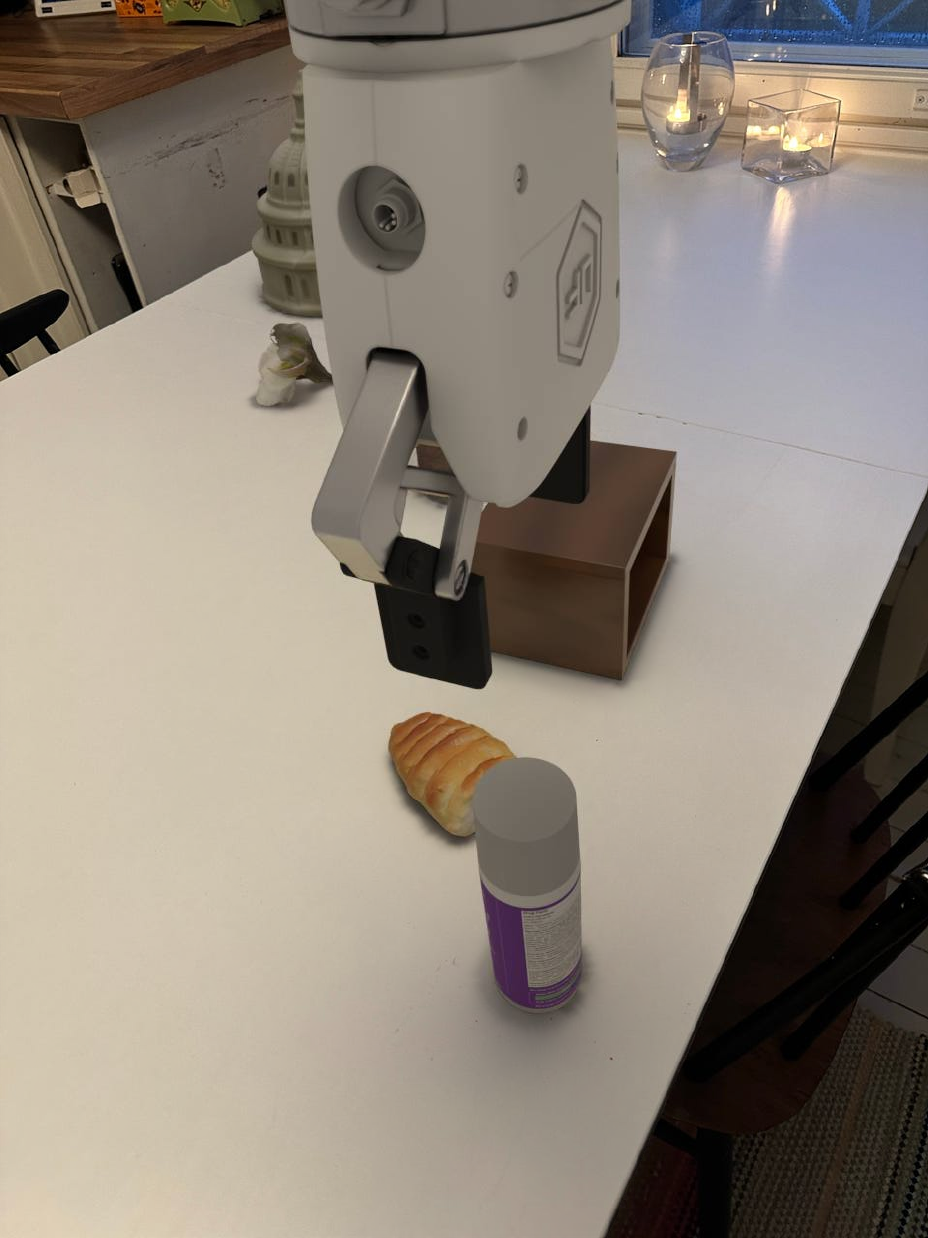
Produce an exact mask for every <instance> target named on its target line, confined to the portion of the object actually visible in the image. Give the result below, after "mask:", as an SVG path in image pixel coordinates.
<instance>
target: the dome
mask: <svg viewBox="0 0 928 1238" xmlns="http://www.w3.org/2000/svg"><path fill="white" fill-rule="evenodd" d="M302 70H303V68H302V69H299V70H298V71H297V81H296V83H295V86H294V89H293V90H292V92H291V97H292V99H293V100H294V104H295V113H296V117H295V119H294V126H293V127H291V129H290V130H289V134H290V135H289V137H288V138H287V139H285V140H284V141H282V142H281V143H280V145H279V146H278V147H277V148H276V149H275V150H274V152H273V153H272V155H271V156H270V157H271V158H270V159H269V162H268V166H267V172H266V188H267V189H266V192H265V193H263V194H262V195H261V196H260V197H259V199H258V200H257V202H256V212H257V214H258V216H259V218H260V219H261V224H262V225H261V226H262V227H260V229H258V231H256V232H255V234H254V235H253V237H252V239H251V250H252V253H253V255H254V257H256V258H257V264H258V268H259V272H260V276H261V281H262V284H261V295H262V297H263V299H264V301H265V302H266V303H267V304H268V305H269V306H271V307H272V308H273V309H276V310H278V311H281V312H284V313H287V314H291V315H296V316H300V317H301V316H302V317H323V315H322V308H321V301H320V294H319V285H318V276H317V268H316V259H315V250H314V241H313V230H312V220H311V209H310V198H309V187H308V172H307V157H306V143H305V116H304V96H303V76H302Z"/></svg>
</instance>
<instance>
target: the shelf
mask: <svg viewBox="0 0 928 1238" xmlns="http://www.w3.org/2000/svg"><path fill="white" fill-rule="evenodd" d="M677 455H678V452H677V451H676V450H667V449H660V448H653V447H645V446H637V445H629V444H623V443H615V442H607V441H599V440H593V439H592V440H591V439H590V490H589V493H588V495H587V497H586V499H585V500H584V502H582V503H580V504H570V503H564V502H558V501H552V500H546V499H540V498H534V497H527V498H526V499H524V500H523V501H522V502H520V503H518V504H516V505H515V506H512V507H509V508H505V507H498V506H497V505H496V504H495V503H488V502H486V503H487V504H486V505H485V506H484V508H482V513H481V518H480V523H479V529H478V534H477V539H476V544H475V550H474V555H473V560H472V566H471V571H470V572H472V573H476V574H478V575H479V576H484V577H485V588H486V600H487V612H488V624H489V636H490V647H491V652H495V653H499V654H503V655H508V656H513V657H517V658H522V659H525V660H526V659H527V660H531V661H535V662H540V663H545V664H549V665H553V666H558V667H562V668H567V669H571V670H575V671H580V672H584V673H589V674H595V675H597V676H603V677H606V678H611V679H612V678H613V679H616V680H623V678H624V675H625V673H626V670H627V668H628V666H629V663H630V660H631V657H632V656H633V652H634V651H635V648H636V645H637V642H638V640H639V638H640V635H641V632H642V631H643V627H644V626H645V622H646V620H647V617H648V615H649V612H650V610H651V607H652V604H653V602H654V600H655V597H656V594H657V592H658V589H659V587H660V584H661V583H662V582H661V581H662V579H663V576H664V574H665V571H666V569H667V566H668V563H669V561H670V555H671V543H672V538H671V537H672V527H673V515H674V514H673V513H674V512H673V511H674V499H675V485H676V472H677V471H676V469H677V458H678V457H677Z"/></svg>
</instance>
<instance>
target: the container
mask: <svg viewBox="0 0 928 1238" xmlns="http://www.w3.org/2000/svg"><path fill="white" fill-rule="evenodd" d="M577 798H578V797H577V791H576V787H575V784H574V783H573V781H572V779H571V778H570V777H569V775H568V774H567V772H565V771H564V770H563V769H562V768H561V767H559V766H558V765H556V764H554V763H552V762H550V761H548V760H545V759H541V758H538V757H537V758H536V757H531V756H530V757H529V756H525V757H524V756H523V757H522V756H521V757H517V758H513V759H509V760H506V761H503V762H500V763H498V764H496V765H494V766H493V767H491V768H490V769H489V770H487V771H486V772H485V773H484V774H483V775H482V776H481V778H480V779H479V780H478V782H477V784H476V786H475V788H474V791H473V796H472V806H473V816H474V826H475V832H474V834H475V836H474V837H475V843H476V845H475V846H476V853H477V864H478V867H477V868H478V874H479V875H478V876H479V883H480V888H481V895H482V903H483V908H484V915H485V922H486V928H487V929H486V930H487V935H488V936H487V937H488V942H489V949H490V955H491V963H492V970H493V975H494V980H495V984H496V987H497V989H498V991H499V993H500V994H501V996H502V997H503V998H504V999H505V1000H506V1002H508V1003H509V1004H511V1006H513V1007H515V1008H517V1009H518V1010H521V1011H524V1012H526V1013H527V1012H528V1013H533V1014H545V1013H550V1012H554V1011H556V1010H558V1009H560V1008H562V1007H564V1006H565V1005H566V1004H567V1003H569V1002H570V1001H571V1000H572V999H573V998H574V996H575V995H576V993H577V992H578V991H579V988H580V985H581V982H582V977H583V975H582V973H583V949H582V948H583V944H582V943H583V942H582V940H583V937H582V932H583V931H582V930H583V929H582V864H581V863H582V862H581V861H582V860H581V850H580V847H581V846H580V834H579V818H578V817H579V815H578V814H579V813H578V801H577V800H578V799H577Z"/></svg>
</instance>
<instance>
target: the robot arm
mask: <svg viewBox="0 0 928 1238" xmlns="http://www.w3.org/2000/svg"><path fill="white" fill-rule="evenodd" d="M283 5H284V12H285V16H286V21H287V22H288V24H287V27H288V33H289V40H290V44H291V50H292V54H293V55H294V56H295V58H296V59H298V60H299V61H302V62H304V63H306V65H305V67H303V68H302V76H303V96H304V116H305V143H306V157H307V172H308V187H309V198H310V209H311V220H312V230H313V241H314V250H315V259H316V268H317V276H318V285H319V294H320V301H321V308H322V315H323V316H322V321H323V326H324V327H323V329H324V337H325V342H326V350H327V356H328V361H329V367H330V372H331V374H332V379H333V382H332V384H333V391H334V396H335V400H336V405H337V409H338V414H339V419H340V423H341V426H342V430H343V431H342V433H341V436H340V438H339V440H338V443H337V446H336V449H335V451H334V454H333V456H332V459H331V461H330V464H329V466H328V468H327V470H326V474H325V476H324V478H323V481H322V483H321V486H320V488H319V490H318V494H317V496H316V498H315V501H314V504H313V507H312V511H311V517H310V523H311V529H312V532H313V533H314V535H315V536H316V537H317V539H318V540H320V542H321V543H322V545H324V547H325V549H327V550H328V551H329V553H330V554H331V555H332V556H333V557H334V558H335V559H336V560H337V562H338V563H339V568H340V570H341V572H342V574H343V575H344V576H346V577H349V578H354V579H358V580H361V581H363V582H366V583H371V584H373V589H374V594H375V598H376V603H377V609H378V613H379V614H378V615H379V619H380V625H381V630H382V637H383V641H384V646H385V651H386V656H387V660H388V663H389V664H390V665H391V666H392V667H393V668H394V669H396V670H398V671H400V672H403V673H407V674H412V675H415V676H419V677H422V678H427V679H431V680H435V681H439V682H443V683H449V684H453V685H457V686H460V687H465V688H468V689H473V690H479V691H480V690H483V689H485V687H486V686H487V685H488V682H489V681H490V679H491V677H492V675H493V662H492V661H493V660H492V651H491V647H490V636H489V624H488V612H487V600H486V588H485V577H484V576H479V575H478V574H476V573H472V572H470V571H471V566H472V560H473V555H474V550H475V544H476V539H477V534H478V529H479V523H480V518H481V513H482V511H483V507H484V503H495V504H496V505H497V506H498V507H505V508H509V507H512V506H515V505H516V504H518V503H520V502H522V501H523V500H524V499H526V498H527V497H534V498H540V499H546V500H552V501H558V502H564V503H570V504H580V503H582V502H584V500H585V499H586V497H587V495H588V493H589V490H590V440H591V425H592V424H591V423H592V422H591V421H592V420H591V419H592V418H591V416H592V412H591V411H592V403H593V401H594V400H595V397H596V395H597V394H598V393H599V390H600V389H601V387H602V385H603V384H604V382H605V380H606V378H607V376H608V374H609V373H610V370H611V368H612V367H613V364H614V361H615V358H616V355H617V351H618V347H619V343H620V332H621V258H620V257H621V254H620V253H621V251H620V250H621V249H620V248H621V247H620V246H621V245H620V244H621V243H620V240H621V239H620V181H619V179H620V178H619V171H620V170H619V141H618V140H619V137H618V115H617V114H618V113H617V98H616V97H617V96H616V95H617V94H616V82H615V81H616V80H615V69H614V57H613V47H612V46H613V45H612V38H611V37H613V36H615V35H617V34H619V33H621V32H622V31H623V29H624V28H625V27H628V26H629V24H631V20H632V0H283ZM418 444H423V445H430V446H436V447H440V448H441V449H442V451H443V453H444V455H445V457H446V459H447V461H448V463H449V465H450V467H451V468H452V470H453V472H448V471H442V470H436V469H430V468H424V467H418V465H411V464H409V463H410V460H411V457H412V455H413V453H414V450H416V447H417V445H418ZM408 492H414V493H419V494H425V495H427V494H430V495H433V496H436V497H441V496H442V497H441V498H445V497H448V498H447V499H448V501H447V507H446V512H445V516H444V523H443V528H442V532H441V539H440V544H439V547H437V546H434V545H432V544H429V543H427V542H424V541H421V540H420V539H417V538H414V537H413V538H412V537H407V536H404V535H403V533H402V532H401V531H402V524H403V519H404V514H405V509H406V503H407V498H408ZM430 495H429V496H430Z"/></svg>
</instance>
